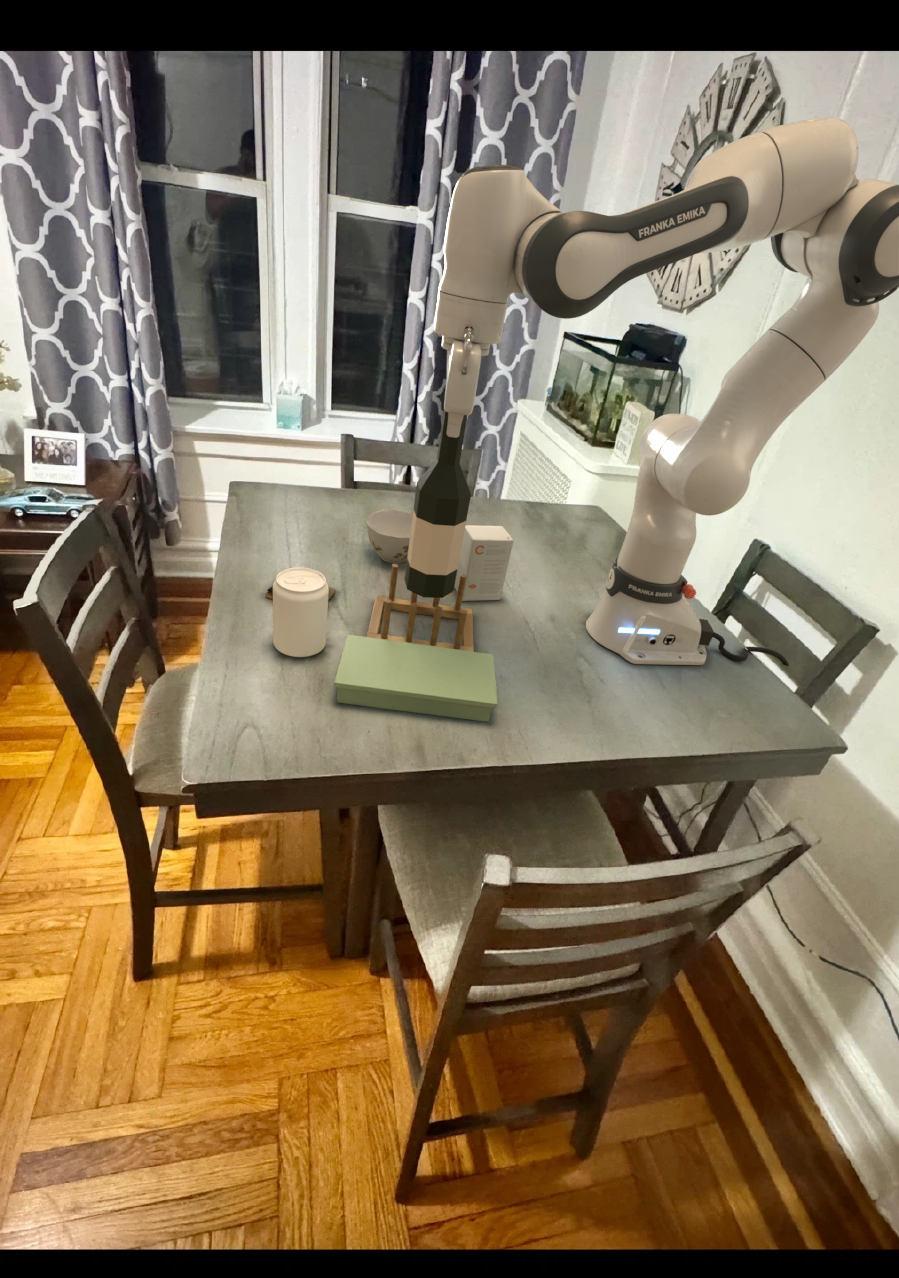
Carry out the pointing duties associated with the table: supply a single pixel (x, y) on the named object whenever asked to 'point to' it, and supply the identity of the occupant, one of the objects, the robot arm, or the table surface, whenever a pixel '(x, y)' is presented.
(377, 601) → the dish rack
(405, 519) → the teacup
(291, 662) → the table surface
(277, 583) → the beverage can
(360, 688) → the green low rectangular block
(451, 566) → the wine bottle
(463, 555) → the small box
